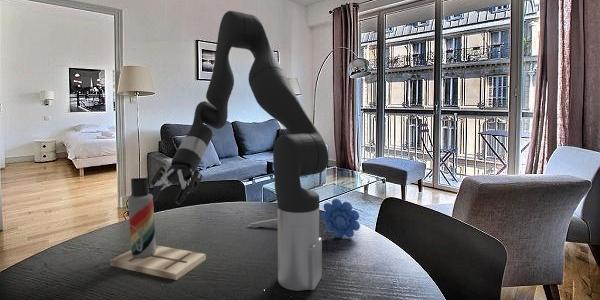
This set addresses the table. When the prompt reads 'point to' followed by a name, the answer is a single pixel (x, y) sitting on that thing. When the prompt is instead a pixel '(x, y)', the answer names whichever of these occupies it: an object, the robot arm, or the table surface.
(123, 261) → the oak board
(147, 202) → the lotion bottle
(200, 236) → the table surface
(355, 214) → the blue flower
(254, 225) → the caliper
